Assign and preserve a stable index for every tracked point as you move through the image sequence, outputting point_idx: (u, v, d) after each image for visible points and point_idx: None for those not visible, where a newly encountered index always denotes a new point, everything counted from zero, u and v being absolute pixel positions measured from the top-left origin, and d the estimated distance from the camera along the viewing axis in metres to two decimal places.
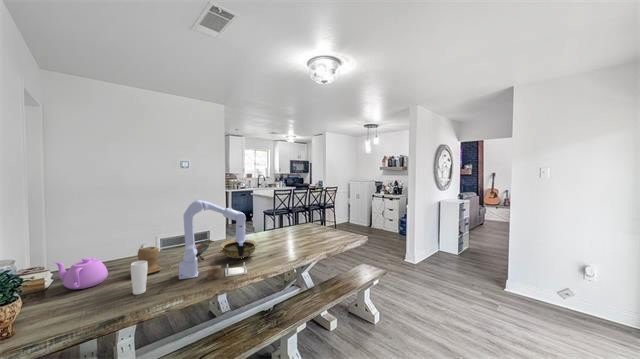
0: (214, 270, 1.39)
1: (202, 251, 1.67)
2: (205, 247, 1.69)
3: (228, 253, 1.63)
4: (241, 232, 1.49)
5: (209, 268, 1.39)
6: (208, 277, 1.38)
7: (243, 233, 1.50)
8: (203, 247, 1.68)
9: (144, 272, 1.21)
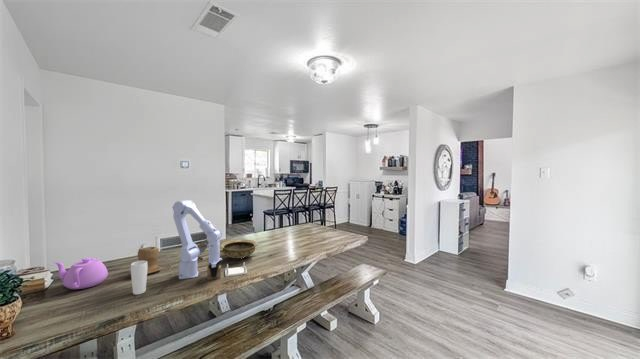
0: None
1: (201, 251, 1.67)
2: (204, 247, 1.68)
3: (228, 253, 1.63)
4: (212, 252, 1.38)
5: None
6: (208, 277, 1.38)
7: (217, 253, 1.39)
8: (202, 247, 1.68)
9: (144, 272, 1.21)
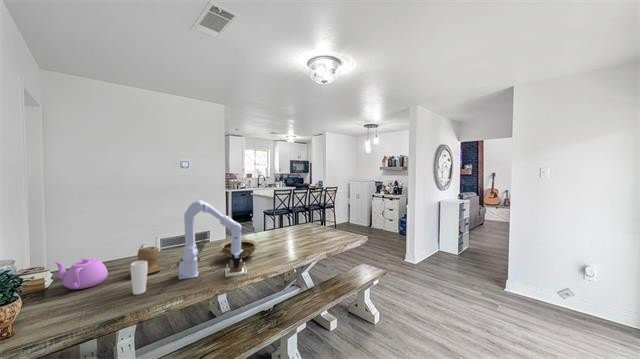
0: None
1: (198, 252, 1.66)
2: (201, 247, 1.68)
3: (228, 253, 1.63)
4: (236, 244, 1.46)
5: (231, 261, 1.47)
6: (230, 270, 1.46)
7: (239, 245, 1.47)
8: (199, 248, 1.67)
9: (144, 272, 1.21)
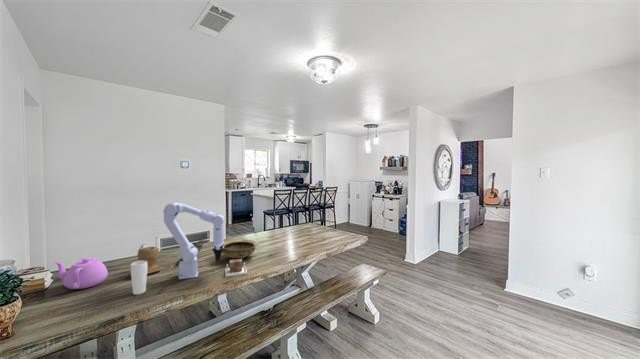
0: (236, 263, 1.47)
1: None
2: (199, 248, 1.67)
3: (228, 253, 1.63)
4: (218, 235, 1.43)
5: (231, 261, 1.47)
6: (230, 270, 1.46)
7: (221, 236, 1.44)
8: (197, 248, 1.66)
9: (144, 272, 1.21)
